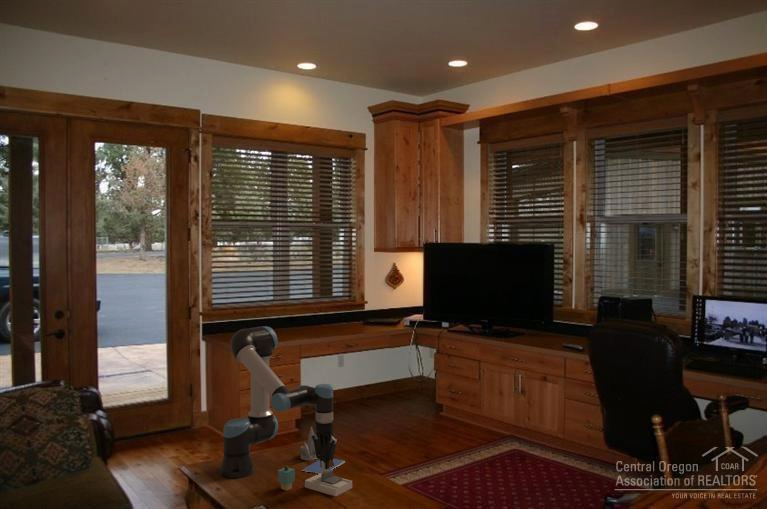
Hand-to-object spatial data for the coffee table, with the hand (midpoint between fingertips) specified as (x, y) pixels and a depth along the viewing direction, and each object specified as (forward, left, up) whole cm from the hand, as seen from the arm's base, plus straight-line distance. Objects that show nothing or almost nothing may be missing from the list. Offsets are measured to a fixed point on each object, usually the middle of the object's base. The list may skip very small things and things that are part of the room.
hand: (324, 475), depth 274 cm
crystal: (-30, +24, -5) cm, 39 cm away
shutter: (+4, 0, -2) cm, 4 cm away
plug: (-12, -11, -5) cm, 17 cm away
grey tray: (+2, 0, -5) cm, 5 cm away
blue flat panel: (-16, +18, -5) cm, 25 cm away
